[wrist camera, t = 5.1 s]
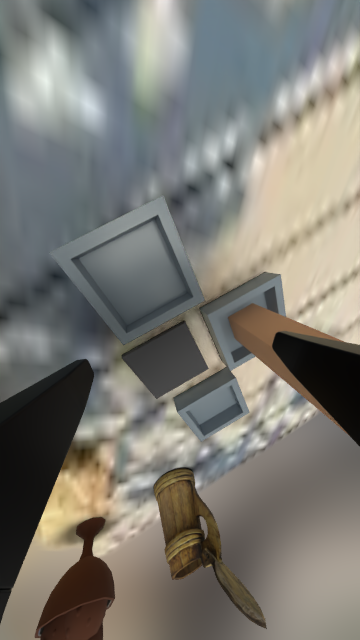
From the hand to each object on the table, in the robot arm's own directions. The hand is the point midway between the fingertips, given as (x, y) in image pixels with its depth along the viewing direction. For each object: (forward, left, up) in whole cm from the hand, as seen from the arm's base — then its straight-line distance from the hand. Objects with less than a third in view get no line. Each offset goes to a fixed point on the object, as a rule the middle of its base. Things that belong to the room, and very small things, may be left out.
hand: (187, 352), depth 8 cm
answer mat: (+5, -8, -12) cm, 15 cm away
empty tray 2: (+16, -14, -12) cm, 24 cm away
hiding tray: (+13, +1, -12) cm, 18 cm away
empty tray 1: (-2, +1, -12) cm, 12 cm away
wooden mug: (+20, -36, -12) cm, 43 cm away
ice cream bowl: (+5, -51, -12) cm, 53 cm away
